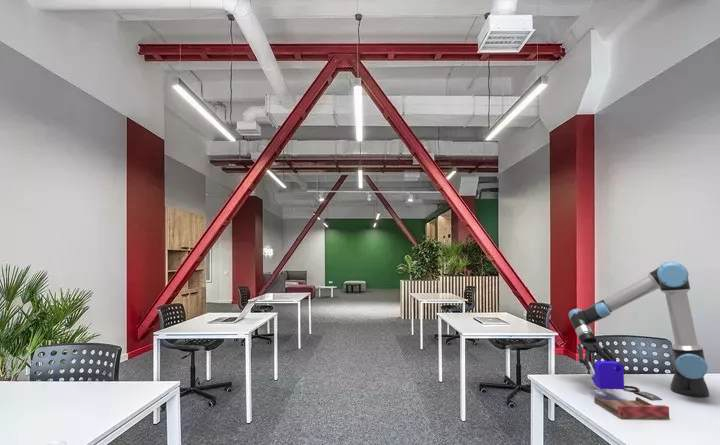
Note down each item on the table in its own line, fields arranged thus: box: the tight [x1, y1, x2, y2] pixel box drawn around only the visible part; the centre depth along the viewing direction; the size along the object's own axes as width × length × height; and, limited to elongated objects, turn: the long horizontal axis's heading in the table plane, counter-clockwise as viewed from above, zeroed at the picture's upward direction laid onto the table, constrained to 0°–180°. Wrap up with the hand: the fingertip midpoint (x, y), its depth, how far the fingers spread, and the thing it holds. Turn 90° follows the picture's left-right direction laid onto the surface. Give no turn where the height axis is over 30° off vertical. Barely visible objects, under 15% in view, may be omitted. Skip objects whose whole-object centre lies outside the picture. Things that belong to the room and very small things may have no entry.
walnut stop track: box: [593, 396, 670, 421], centre depth 186 cm, size 20×20×5 cm
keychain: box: [622, 385, 663, 401], centre depth 209 cm, size 8×19×2 cm, turn 9°
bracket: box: [591, 360, 625, 390], centre depth 207 cm, size 18×11×12 cm, turn 175°
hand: (605, 375), depth 204 cm, fingers closed on bracket, 10 cm apart
